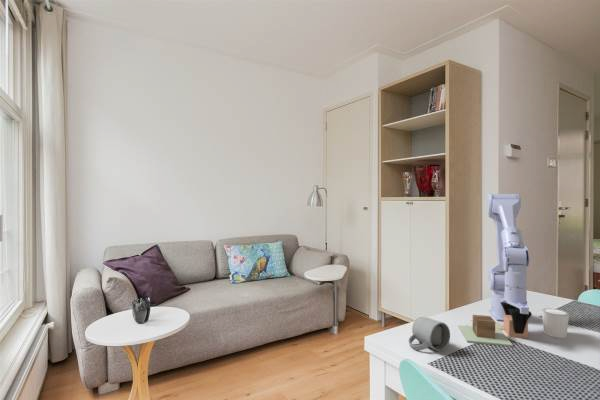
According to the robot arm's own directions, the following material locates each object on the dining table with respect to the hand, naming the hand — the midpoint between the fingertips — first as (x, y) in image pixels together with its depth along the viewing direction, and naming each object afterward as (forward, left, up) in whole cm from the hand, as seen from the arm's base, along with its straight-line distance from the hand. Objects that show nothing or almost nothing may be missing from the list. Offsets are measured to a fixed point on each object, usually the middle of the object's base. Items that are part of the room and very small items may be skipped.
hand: (515, 329), depth 103 cm
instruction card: (-6, -6, -1) cm, 9 cm away
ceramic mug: (+15, -28, -2) cm, 32 cm away
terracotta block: (0, 0, -1) cm, 1 cm away
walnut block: (+4, -10, -1) cm, 11 cm away
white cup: (-3, +12, -2) cm, 12 cm away
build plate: (+4, -10, -1) cm, 11 cm away
